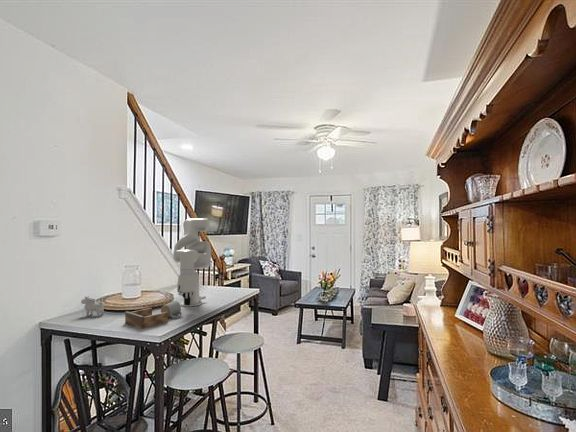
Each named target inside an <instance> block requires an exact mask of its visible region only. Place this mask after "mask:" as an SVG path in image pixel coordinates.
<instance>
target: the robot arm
mask: <svg viewBox="0 0 576 432" xmlns="http://www.w3.org/2000/svg"><path fill="white" fill-rule="evenodd" d="M210 225H211V223H210V220H209V218H207V217H206V218H196V217H195V218H187V219H185V220H184V221H183V226H182V228H183V236H182V237H181V238H179V239H178V241H177V242H176V243H175V244H174V247H173V254H172V255H173V256H172V257H173V261H174V262H175V263H178V264H179V270H180V271H179V275H178V277H177V285H176V286H177V287H176V292H177V294H178V296H180V297H182V298H183V301H182V302H181V303H180V306H182V307H185V308H187V307H196V306H201V305H202V304H203V302H202V301H203V300H206V298H207V296H206V295H203V296H201V295H200V275H199V273H198V271H197V269H199V270H200V269H208V268H209V267H210V266H211V257H212V246H211V243H210V242H209V241H206V240H202V241H201V238H200V236H199V232H208V231H209V229H210ZM183 248H185V249H183Z"/></svg>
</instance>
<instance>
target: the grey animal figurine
mask: <svg viewBox="0 0 576 432" xmlns="http://www.w3.org/2000/svg"><path fill="white" fill-rule="evenodd" d="M80 303H81V304H82V305H83V304H84V310H85V313H86V314H85V317H90V315H93V314H94V312H96V317H98V318H99V316H102V315H103V316H104V312H105V311H104V310H105V309H104V308H105V303H103V302H102V301H98V302H97V301H96V299H95V298H92V296H90V295H88V296H84V299H83V298H82V299H81V300H80ZM100 313H101V314H100ZM89 314H90V315H89Z"/></svg>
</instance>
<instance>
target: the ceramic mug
mask: <svg viewBox="0 0 576 432" xmlns="http://www.w3.org/2000/svg"><path fill="white" fill-rule="evenodd" d="M163 312H167V316H168V318H172V319H179V318H181V317H182V307H181V303H179V301H178V300H174V301H171V302H169V303H165V304H163V305H162V306H161V309H160V313H163Z"/></svg>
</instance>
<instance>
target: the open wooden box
mask: <svg viewBox="0 0 576 432" xmlns="http://www.w3.org/2000/svg"><path fill="white" fill-rule="evenodd" d="M124 315H125V317H124V321H125V324H127V325H130V326H133V327H135V328H138V329H146V328H149V327H153V326H154V327H155V326H157V325H161V324H165V323H166V324H167V323H168V316H167V312H163V313H161V312H160V313H154V314H153V308H152V307H148V308H143V309H137V310H135V311H127V310H126V311H125V312H124ZM145 327H146V328H145Z"/></svg>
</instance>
